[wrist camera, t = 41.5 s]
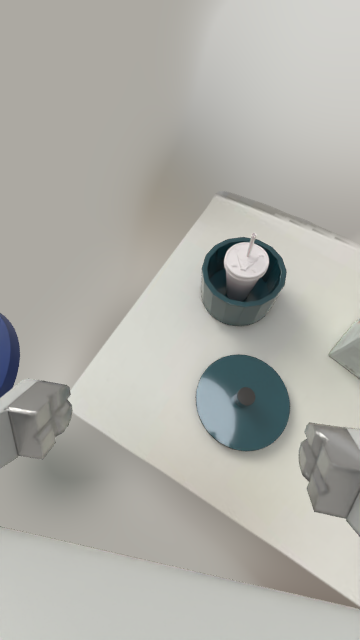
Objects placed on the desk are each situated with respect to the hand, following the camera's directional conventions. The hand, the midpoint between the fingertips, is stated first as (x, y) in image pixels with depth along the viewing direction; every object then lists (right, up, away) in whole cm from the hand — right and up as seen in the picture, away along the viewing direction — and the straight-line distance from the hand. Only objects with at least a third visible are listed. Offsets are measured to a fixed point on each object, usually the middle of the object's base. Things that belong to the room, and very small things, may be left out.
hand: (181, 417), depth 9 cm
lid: (+9, -9, +29) cm, 32 cm away
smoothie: (+10, +8, +37) cm, 39 cm away
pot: (+10, +8, +37) cm, 39 cm away
